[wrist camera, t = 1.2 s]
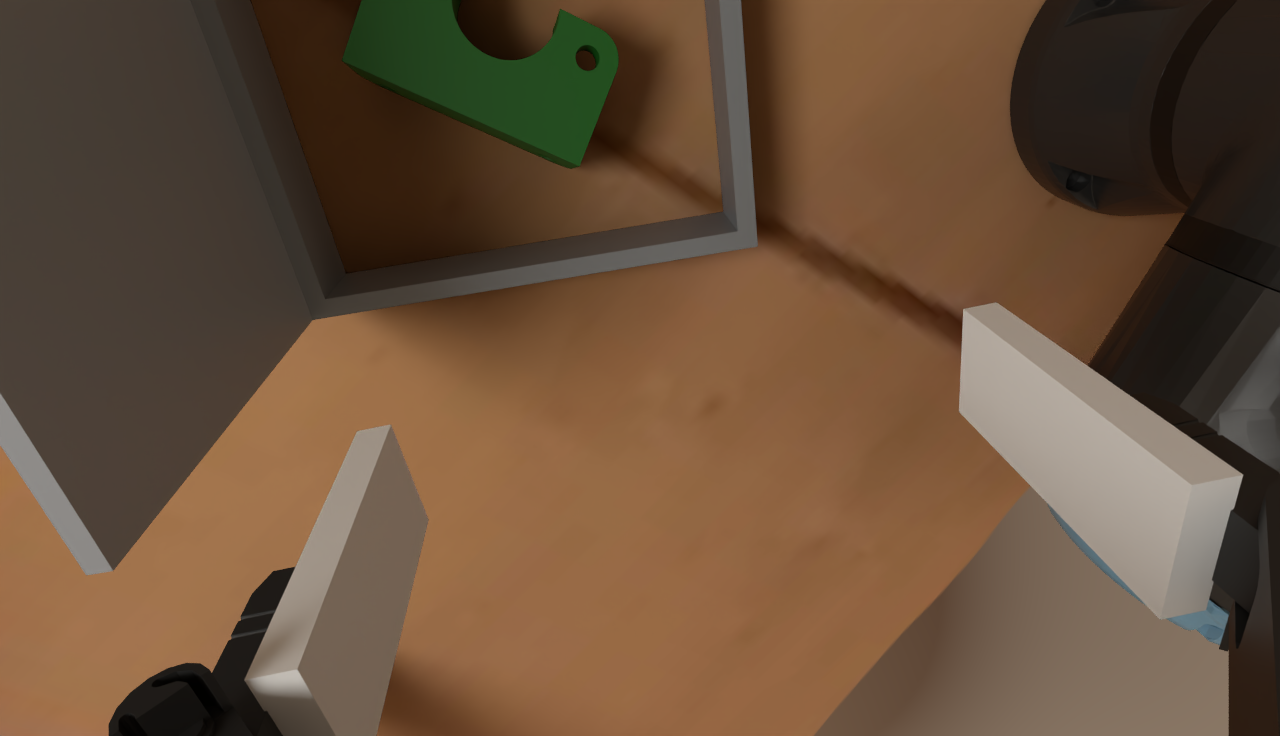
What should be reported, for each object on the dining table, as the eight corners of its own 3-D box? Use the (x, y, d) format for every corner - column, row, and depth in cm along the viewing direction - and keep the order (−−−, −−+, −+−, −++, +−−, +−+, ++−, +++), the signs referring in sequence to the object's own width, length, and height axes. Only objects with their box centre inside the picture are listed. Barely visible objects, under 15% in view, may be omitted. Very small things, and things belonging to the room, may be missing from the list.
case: (704, -253, 32) (940, -690, 12) (741, 225, 42) (903, 437, 22) (148, -168, 32) (-601, -463, 11) (320, 295, 42) (86, 575, 22)
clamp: (569, 57, 42) (656, 61, 34) (531, 157, 42) (608, 180, 35) (362, -66, 34) (417, -93, 27) (321, 58, 35) (365, 63, 28)
